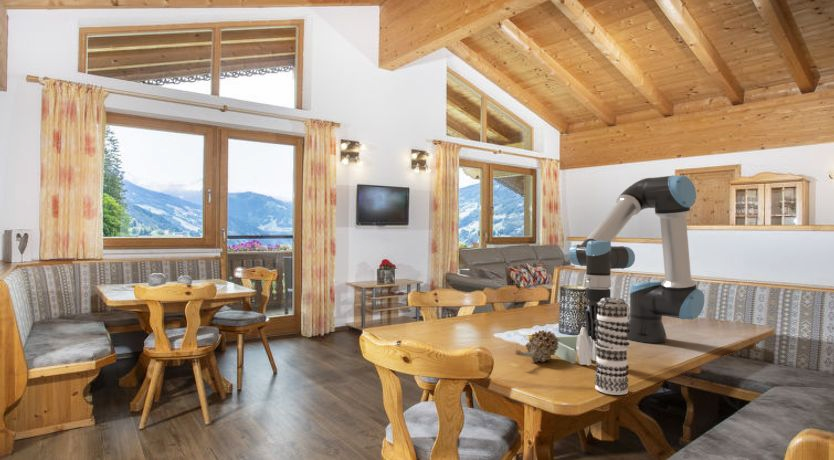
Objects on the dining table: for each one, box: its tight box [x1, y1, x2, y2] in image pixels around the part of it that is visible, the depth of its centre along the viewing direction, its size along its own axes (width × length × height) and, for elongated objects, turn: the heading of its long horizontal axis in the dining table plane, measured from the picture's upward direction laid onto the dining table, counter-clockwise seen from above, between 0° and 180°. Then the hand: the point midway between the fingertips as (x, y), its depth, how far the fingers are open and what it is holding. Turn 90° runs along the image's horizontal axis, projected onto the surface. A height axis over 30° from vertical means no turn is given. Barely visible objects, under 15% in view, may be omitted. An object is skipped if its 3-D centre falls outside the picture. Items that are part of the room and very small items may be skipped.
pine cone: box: [514, 330, 559, 364], centre depth 159 cm, size 22×10×10 cm, turn 138°
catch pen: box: [554, 335, 592, 365], centre depth 170 cm, size 15×19×4 cm
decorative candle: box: [594, 297, 630, 396], centre depth 133 cm, size 9×9×25 cm
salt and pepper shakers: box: [575, 326, 593, 366], centre depth 161 cm, size 12×4×11 cm, turn 152°
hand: (597, 360), depth 158 cm, fingers closed
